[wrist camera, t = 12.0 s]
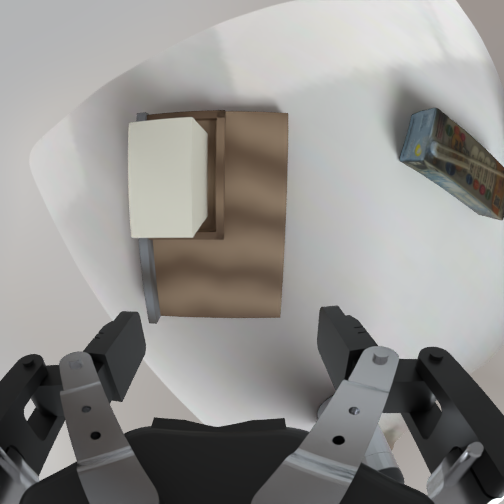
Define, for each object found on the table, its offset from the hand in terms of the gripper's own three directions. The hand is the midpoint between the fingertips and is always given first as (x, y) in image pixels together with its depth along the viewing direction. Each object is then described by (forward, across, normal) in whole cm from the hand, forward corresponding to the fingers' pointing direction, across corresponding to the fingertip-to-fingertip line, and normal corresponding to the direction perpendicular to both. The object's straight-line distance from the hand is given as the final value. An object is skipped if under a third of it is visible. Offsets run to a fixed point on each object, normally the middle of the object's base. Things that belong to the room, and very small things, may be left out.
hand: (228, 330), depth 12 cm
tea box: (+20, +5, -7) cm, 22 cm away
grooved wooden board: (+22, +2, -2) cm, 22 cm away
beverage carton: (+22, -31, -10) cm, 39 cm away
